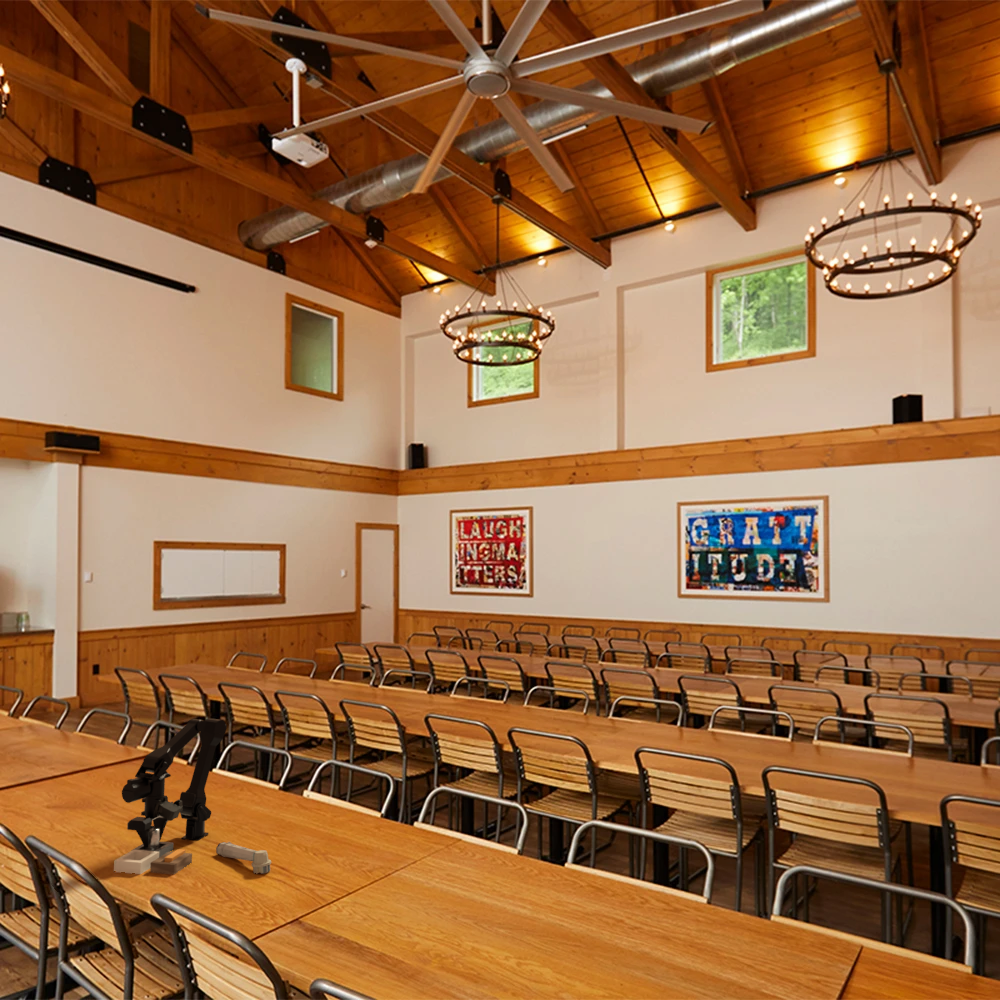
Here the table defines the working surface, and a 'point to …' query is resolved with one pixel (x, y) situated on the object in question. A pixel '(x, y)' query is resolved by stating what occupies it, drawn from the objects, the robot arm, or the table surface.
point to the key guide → (170, 864)
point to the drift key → (174, 855)
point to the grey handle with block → (246, 856)
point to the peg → (154, 839)
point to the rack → (135, 861)
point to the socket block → (162, 850)
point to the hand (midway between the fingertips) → (152, 843)
